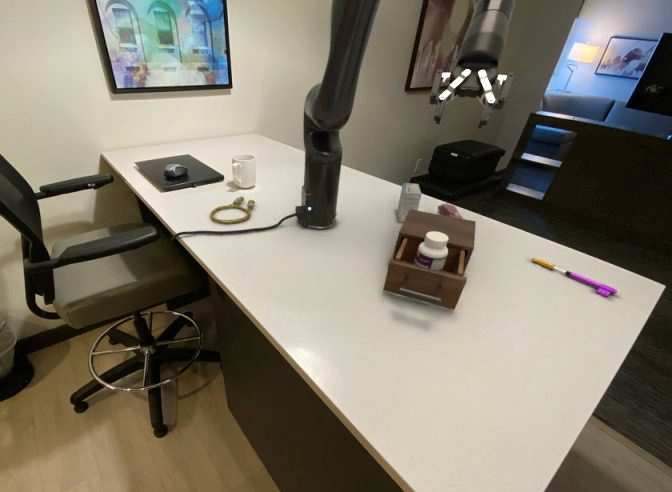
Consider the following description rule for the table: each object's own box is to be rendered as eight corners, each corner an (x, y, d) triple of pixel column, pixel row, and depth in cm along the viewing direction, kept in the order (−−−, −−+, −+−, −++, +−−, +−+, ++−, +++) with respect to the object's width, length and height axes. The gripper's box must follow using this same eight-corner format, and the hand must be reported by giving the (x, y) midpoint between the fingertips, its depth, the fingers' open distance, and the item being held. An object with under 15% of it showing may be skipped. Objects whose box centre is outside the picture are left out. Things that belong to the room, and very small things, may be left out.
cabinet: (459, 283, 69) (474, 248, 64) (390, 266, 75) (398, 232, 69) (463, 253, 79) (475, 221, 74) (401, 240, 84) (409, 209, 79)
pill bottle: (405, 273, 69) (416, 231, 63) (426, 269, 70) (440, 227, 64) (420, 288, 65) (434, 244, 59) (443, 283, 66) (459, 240, 60)
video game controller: (437, 222, 96) (433, 202, 92) (453, 216, 95) (449, 195, 91) (454, 239, 88) (450, 217, 84) (471, 231, 87) (467, 210, 83)
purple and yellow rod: (616, 293, 67) (532, 259, 77) (619, 289, 66) (534, 255, 77) (609, 300, 66) (526, 265, 77) (612, 296, 65) (528, 261, 76)
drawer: (452, 328, 57) (465, 297, 53) (376, 305, 62) (383, 276, 58) (458, 276, 70) (469, 248, 66) (395, 260, 75) (401, 234, 71)
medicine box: (414, 223, 92) (422, 193, 87) (398, 222, 93) (405, 192, 88) (411, 212, 98) (419, 183, 93) (396, 210, 99) (402, 182, 94)
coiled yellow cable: (269, 212, 97) (268, 206, 96) (224, 228, 88) (223, 221, 87) (244, 200, 104) (243, 194, 103) (200, 214, 95) (199, 207, 94)
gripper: (445, 29, 63) (421, 106, 62) (532, 29, 58) (507, 113, 57) (440, 62, 70) (418, 131, 69) (517, 64, 65) (495, 139, 64)
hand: (459, 123), depth 63 cm, fingers open, 7 cm apart
